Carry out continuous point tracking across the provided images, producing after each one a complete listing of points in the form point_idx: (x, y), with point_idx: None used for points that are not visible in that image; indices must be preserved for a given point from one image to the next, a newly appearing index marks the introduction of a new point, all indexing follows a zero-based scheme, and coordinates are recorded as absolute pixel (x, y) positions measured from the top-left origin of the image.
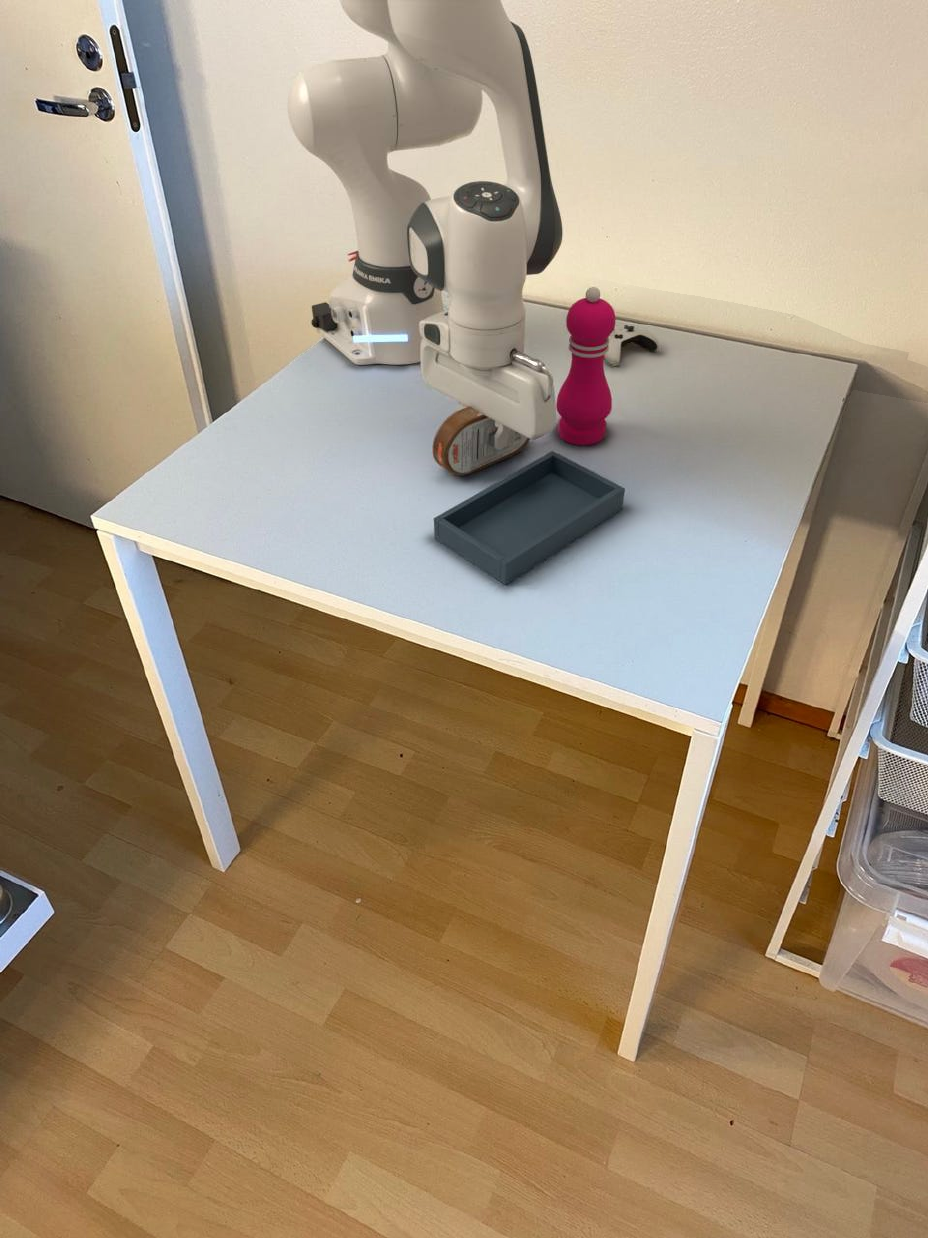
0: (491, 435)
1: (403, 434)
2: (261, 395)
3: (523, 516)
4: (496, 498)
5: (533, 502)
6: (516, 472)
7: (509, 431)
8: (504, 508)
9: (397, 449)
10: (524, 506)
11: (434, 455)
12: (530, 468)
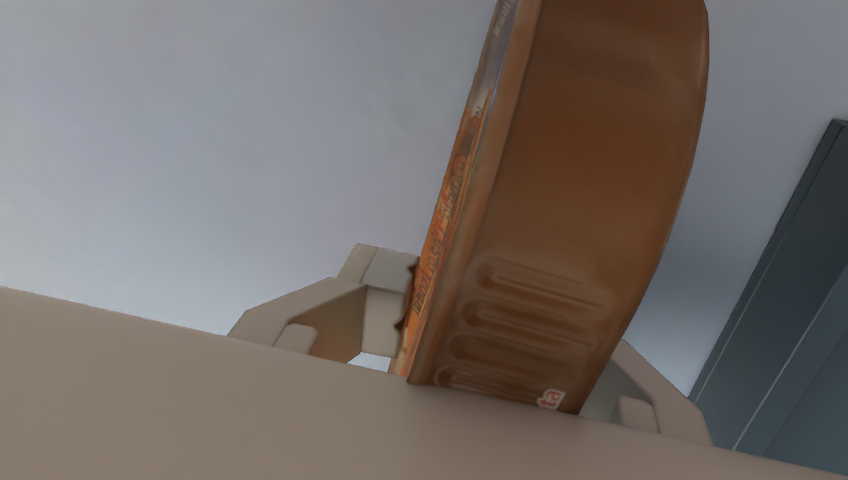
0: None
1: (89, 233)
2: None
3: (833, 466)
4: None
5: (845, 392)
6: (760, 423)
7: (639, 356)
8: None
9: (163, 318)
10: (815, 424)
11: None
12: (820, 369)
